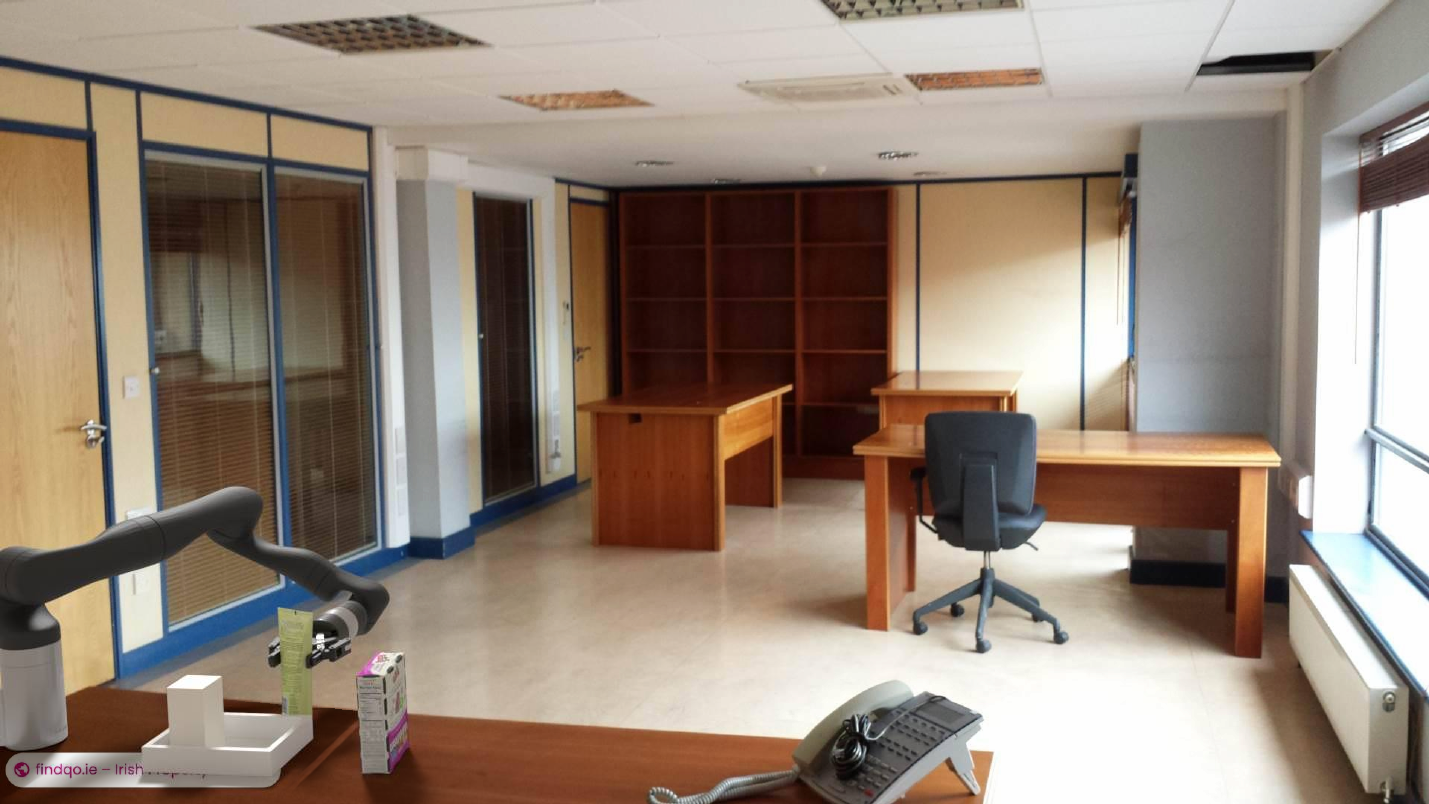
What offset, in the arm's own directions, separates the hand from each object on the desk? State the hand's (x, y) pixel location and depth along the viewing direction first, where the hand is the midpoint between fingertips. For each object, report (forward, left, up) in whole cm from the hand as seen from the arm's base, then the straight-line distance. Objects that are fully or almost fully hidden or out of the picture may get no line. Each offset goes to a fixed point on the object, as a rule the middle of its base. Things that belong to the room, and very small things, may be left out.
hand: (289, 662), depth 201 cm
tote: (-5, -12, -13) cm, 18 cm away
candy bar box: (+20, -10, -13) cm, 26 cm away
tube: (0, +2, -11) cm, 11 cm away
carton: (-11, -12, -12) cm, 20 cm away
